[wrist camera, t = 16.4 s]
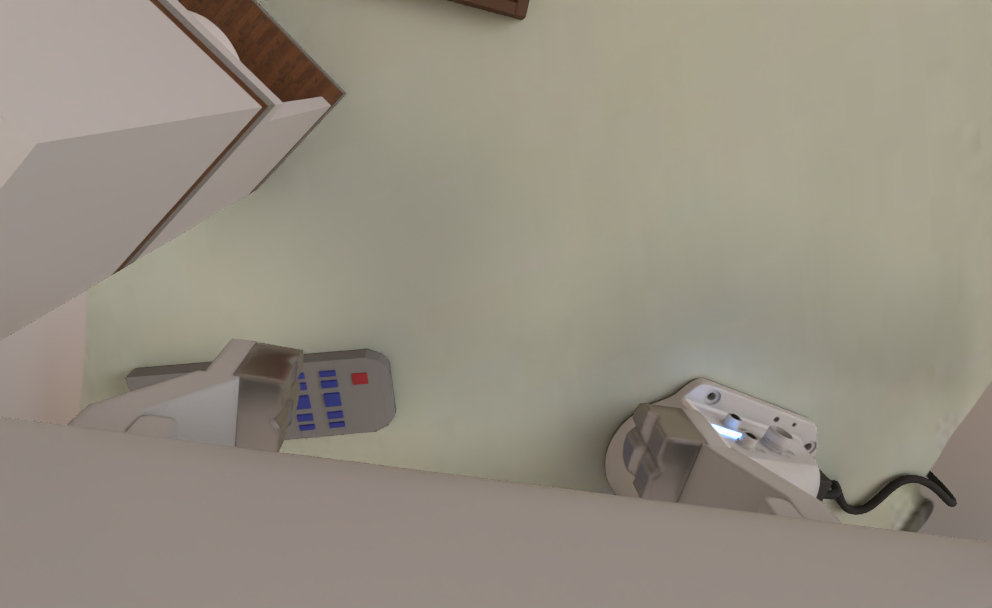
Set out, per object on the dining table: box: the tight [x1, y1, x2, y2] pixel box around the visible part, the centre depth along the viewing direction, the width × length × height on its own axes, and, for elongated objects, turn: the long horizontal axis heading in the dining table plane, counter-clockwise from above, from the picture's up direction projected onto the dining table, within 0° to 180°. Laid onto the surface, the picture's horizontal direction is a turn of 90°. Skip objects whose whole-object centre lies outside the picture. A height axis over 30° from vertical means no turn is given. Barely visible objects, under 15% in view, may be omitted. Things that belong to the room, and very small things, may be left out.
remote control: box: [125, 349, 396, 440], centre depth 51 cm, size 8×23×2 cm, turn 93°
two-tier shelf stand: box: [0, 0, 346, 341], centre depth 26 cm, size 11×11×35 cm
